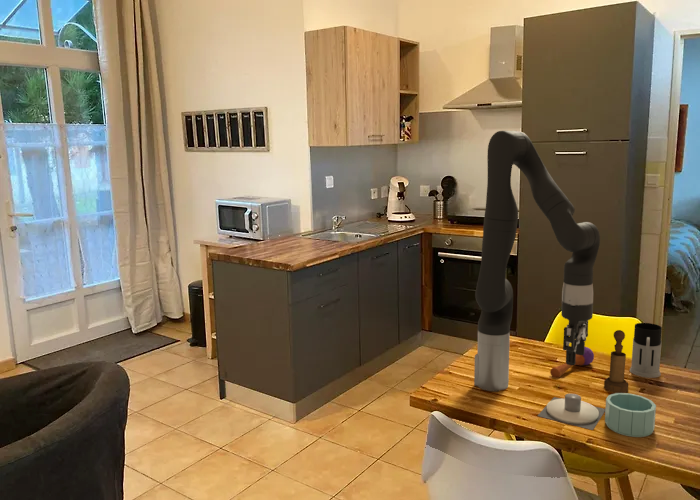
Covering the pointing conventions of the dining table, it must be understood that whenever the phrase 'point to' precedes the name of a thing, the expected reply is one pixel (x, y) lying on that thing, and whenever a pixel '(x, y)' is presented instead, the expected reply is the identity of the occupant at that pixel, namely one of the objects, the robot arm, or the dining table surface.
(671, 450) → the dining table surface
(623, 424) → the cup
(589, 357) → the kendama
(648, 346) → the glass holder
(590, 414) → the lid
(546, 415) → the mat
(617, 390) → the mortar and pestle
